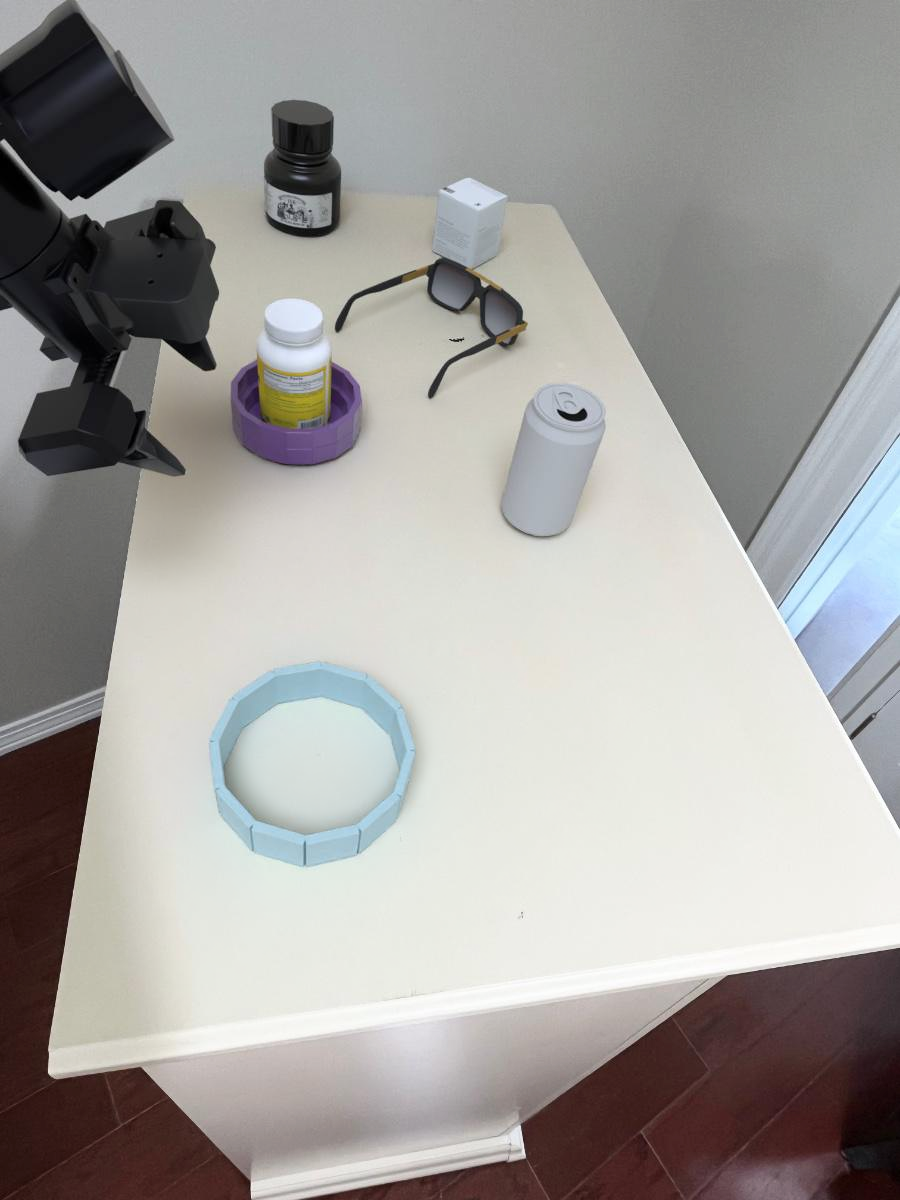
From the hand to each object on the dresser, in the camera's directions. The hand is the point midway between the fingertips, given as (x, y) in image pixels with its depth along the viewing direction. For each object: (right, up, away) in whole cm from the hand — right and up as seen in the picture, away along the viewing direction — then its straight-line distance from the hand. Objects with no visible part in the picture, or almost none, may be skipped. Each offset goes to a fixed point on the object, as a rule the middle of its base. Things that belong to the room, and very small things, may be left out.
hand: (196, 419), depth 56 cm
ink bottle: (0, +34, +41) cm, 53 cm away
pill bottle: (+4, +3, +16) cm, 17 cm away
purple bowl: (+4, +3, +16) cm, 17 cm away
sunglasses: (+16, +15, +28) cm, 36 cm away
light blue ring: (+9, -24, -5) cm, 26 cm away
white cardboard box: (+20, +30, +41) cm, 55 cm away
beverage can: (+25, -5, +14) cm, 29 cm away
